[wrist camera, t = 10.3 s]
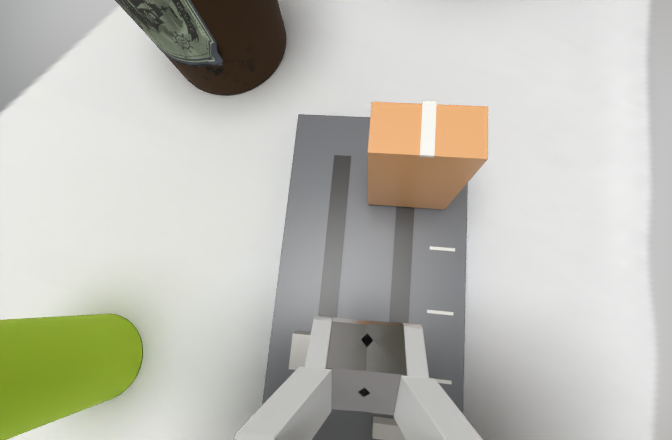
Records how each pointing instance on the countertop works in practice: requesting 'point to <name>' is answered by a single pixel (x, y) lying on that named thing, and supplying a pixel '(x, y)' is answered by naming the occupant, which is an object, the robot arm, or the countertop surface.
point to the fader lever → (424, 152)
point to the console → (364, 267)
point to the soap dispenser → (62, 367)
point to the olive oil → (215, 39)
